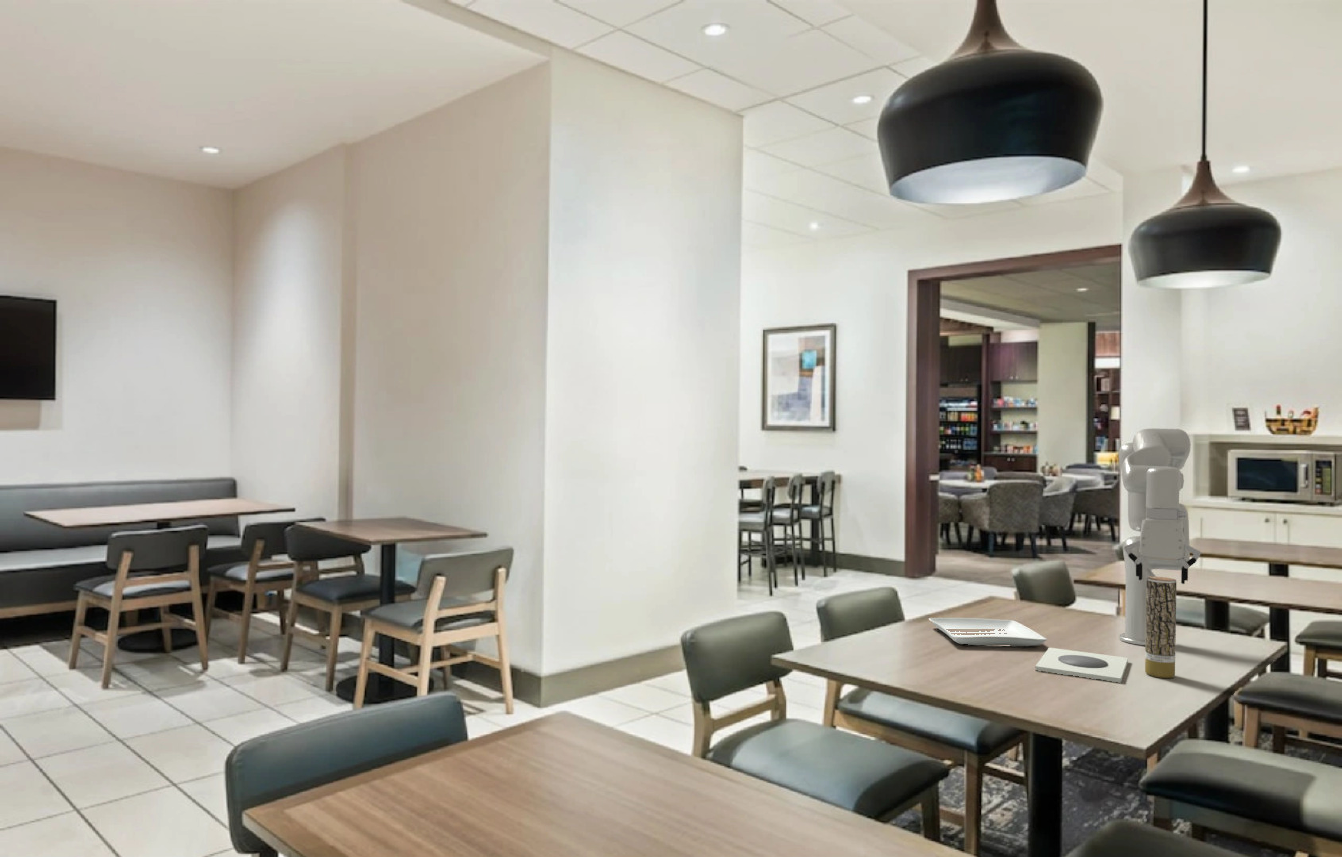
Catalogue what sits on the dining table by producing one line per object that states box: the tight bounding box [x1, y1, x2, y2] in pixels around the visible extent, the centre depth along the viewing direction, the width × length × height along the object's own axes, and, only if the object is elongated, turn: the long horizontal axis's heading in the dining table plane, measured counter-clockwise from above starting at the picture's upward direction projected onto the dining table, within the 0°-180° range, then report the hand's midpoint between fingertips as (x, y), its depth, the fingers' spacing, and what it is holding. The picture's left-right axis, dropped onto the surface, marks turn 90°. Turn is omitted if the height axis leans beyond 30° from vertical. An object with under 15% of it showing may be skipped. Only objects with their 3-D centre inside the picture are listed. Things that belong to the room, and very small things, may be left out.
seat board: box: [1034, 647, 1129, 684], centre depth 236 cm, size 24×20×2 cm
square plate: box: [928, 617, 1048, 647], centre depth 267 cm, size 27×27×4 cm
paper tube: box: [1144, 576, 1177, 679], centre depth 228 cm, size 7×7×25 cm
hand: (1161, 581), depth 228 cm, fingers open, 9 cm apart
